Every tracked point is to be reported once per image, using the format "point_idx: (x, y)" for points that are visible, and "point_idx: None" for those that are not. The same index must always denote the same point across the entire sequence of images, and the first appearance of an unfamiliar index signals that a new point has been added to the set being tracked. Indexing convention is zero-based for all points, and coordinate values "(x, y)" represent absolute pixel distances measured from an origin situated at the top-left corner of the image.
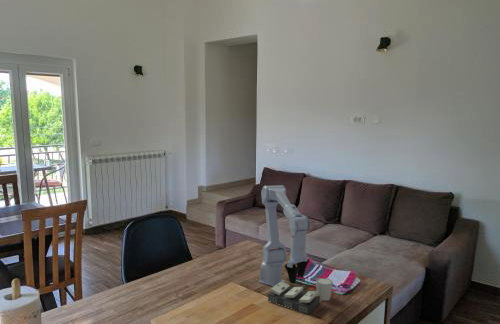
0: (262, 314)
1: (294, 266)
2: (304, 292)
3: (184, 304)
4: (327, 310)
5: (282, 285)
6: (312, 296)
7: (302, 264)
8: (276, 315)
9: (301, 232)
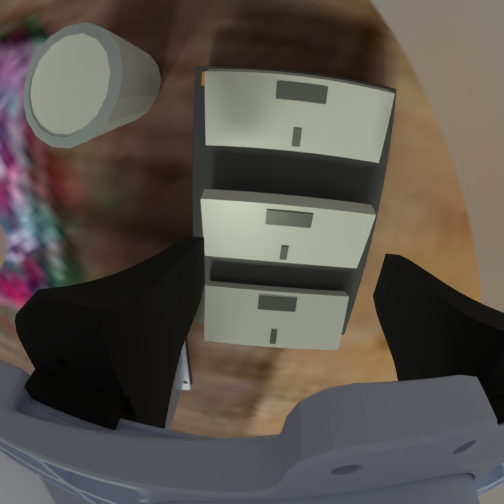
0: (448, 283)
1: (500, 394)
2: (205, 175)
3: None
4: (268, 9)
5: (250, 319)
6: (324, 79)
7: (155, 343)
8: (443, 233)
9: None
